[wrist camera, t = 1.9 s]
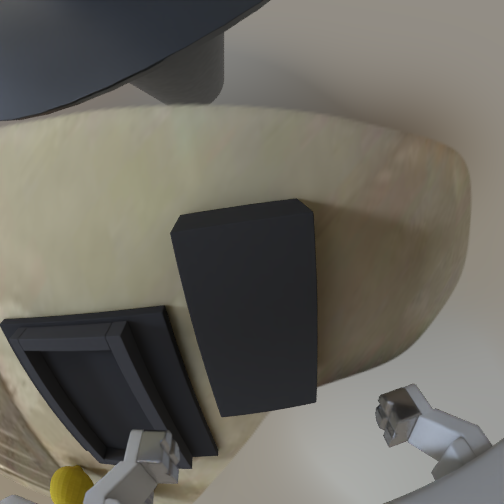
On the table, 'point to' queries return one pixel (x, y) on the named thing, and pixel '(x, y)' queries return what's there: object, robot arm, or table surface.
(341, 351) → the table surface
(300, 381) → the black pad
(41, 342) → the base pad
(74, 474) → the lemon
